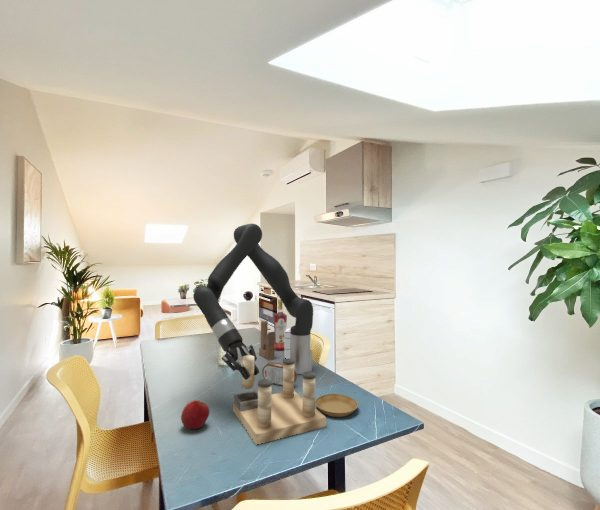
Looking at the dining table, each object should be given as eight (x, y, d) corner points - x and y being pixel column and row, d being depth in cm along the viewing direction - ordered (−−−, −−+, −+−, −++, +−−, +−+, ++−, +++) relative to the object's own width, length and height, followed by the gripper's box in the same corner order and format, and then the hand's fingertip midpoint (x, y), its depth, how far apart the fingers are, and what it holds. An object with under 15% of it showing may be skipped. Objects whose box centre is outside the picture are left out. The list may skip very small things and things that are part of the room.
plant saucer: (362, 405, 120) (362, 398, 120) (351, 424, 107) (351, 416, 107) (323, 397, 127) (323, 390, 127) (308, 414, 113) (308, 407, 113)
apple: (201, 435, 99) (202, 408, 99) (176, 432, 101) (176, 405, 101) (212, 422, 107) (213, 397, 107) (189, 419, 108) (189, 395, 108)
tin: (297, 386, 137) (297, 365, 137) (293, 389, 134) (293, 368, 134) (265, 380, 143) (265, 360, 143) (261, 382, 140) (261, 362, 140)
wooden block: (268, 360, 169) (268, 324, 169) (258, 354, 178) (259, 320, 178) (274, 359, 171) (275, 323, 171) (265, 353, 180) (265, 320, 180)
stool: (293, 398, 125) (293, 355, 125) (325, 426, 105) (326, 376, 105) (232, 410, 115) (233, 364, 115) (256, 445, 94) (256, 389, 94)
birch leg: (251, 383, 116) (252, 354, 116) (255, 387, 112) (256, 358, 112) (240, 385, 114) (240, 356, 114) (244, 389, 110) (244, 359, 110)
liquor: (285, 347, 193) (286, 298, 193) (287, 350, 186) (287, 300, 186) (272, 347, 192) (273, 298, 192) (274, 351, 185) (274, 300, 185)
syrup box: (295, 359, 171) (295, 331, 171) (283, 358, 172) (284, 330, 172) (297, 356, 176) (297, 328, 176) (286, 355, 178) (286, 328, 178)
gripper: (217, 331, 111) (244, 376, 104) (246, 324, 123) (272, 364, 116) (206, 345, 114) (231, 389, 107) (235, 336, 126) (260, 376, 119)
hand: (252, 375), depth 112 cm, fingers closed on birch leg, 4 cm apart
